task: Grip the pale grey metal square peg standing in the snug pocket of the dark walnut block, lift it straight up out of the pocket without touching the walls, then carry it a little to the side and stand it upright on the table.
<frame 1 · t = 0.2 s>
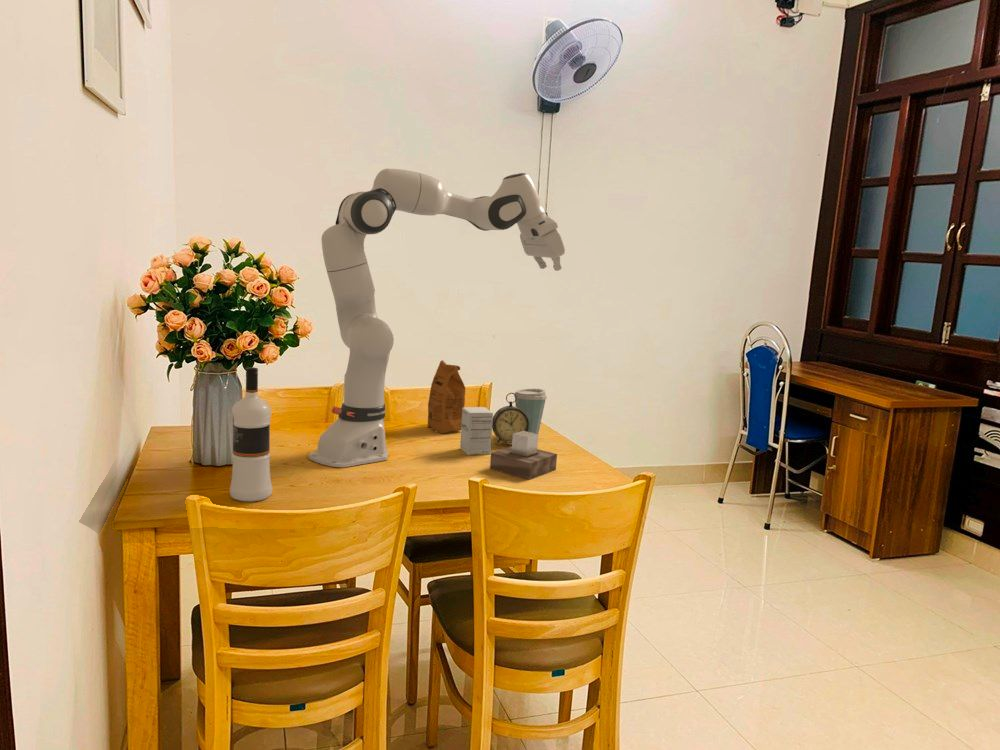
hand: (550, 268, 228), 54 cm above the table, tool tilted 30°, fingers open, 8 cm apart
grey peg: (524, 451, 207), in the pocket block
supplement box: (475, 452, 223), on the table
pocket block: (523, 469, 208), on the table
alarm clock: (508, 445, 233), on the table
vodka: (251, 497, 174), on the table
coffee package: (444, 429, 247), on the table
disposable coffee cup: (527, 435, 246), on the table
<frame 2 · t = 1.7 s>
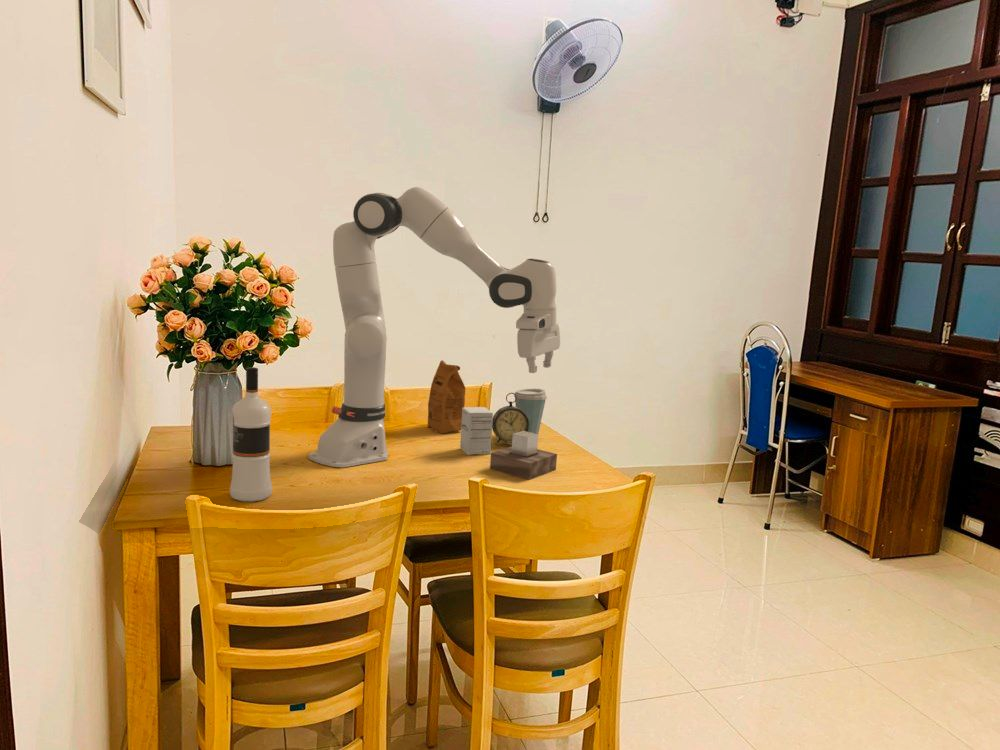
hand: (540, 369, 207), 27 cm above the table, tool pointing down, fingers open, 8 cm apart
nothing on the table moved.
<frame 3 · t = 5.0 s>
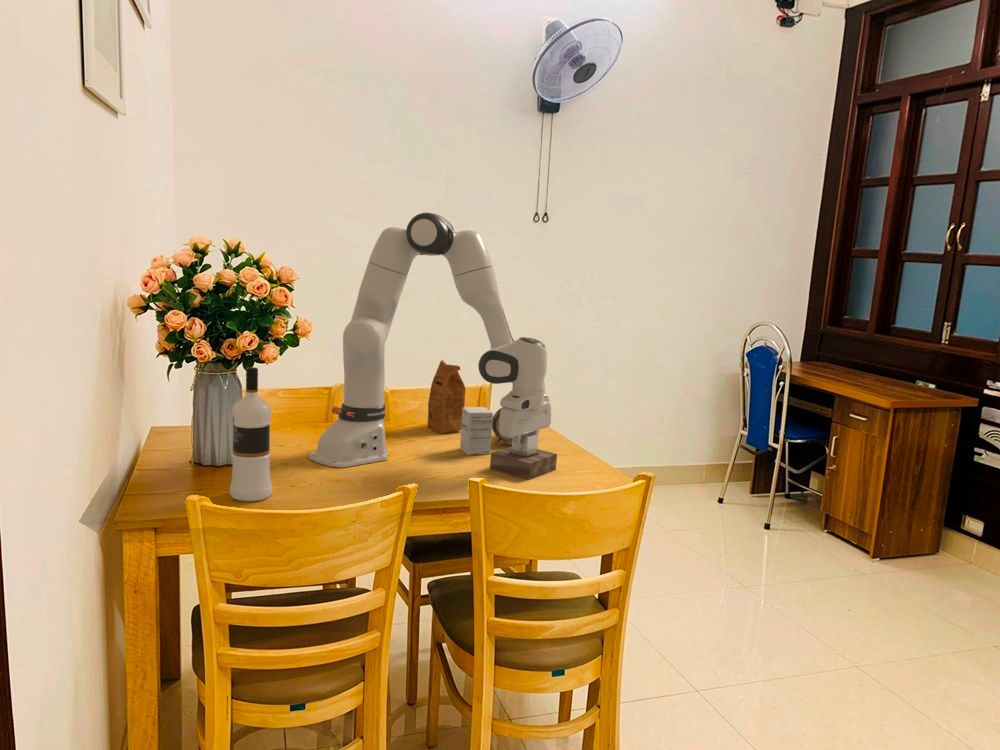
hand: (524, 447, 207), 6 cm above the table, tool pointing down, fingers closed on grey peg, 5 cm apart
grey peg: (524, 451, 207), in the pocket block, touching gripper
everything else where it was.
when the fingers open (8 cm above the table, at t = 13.7 s): grey peg drops 1 cm, on the table.
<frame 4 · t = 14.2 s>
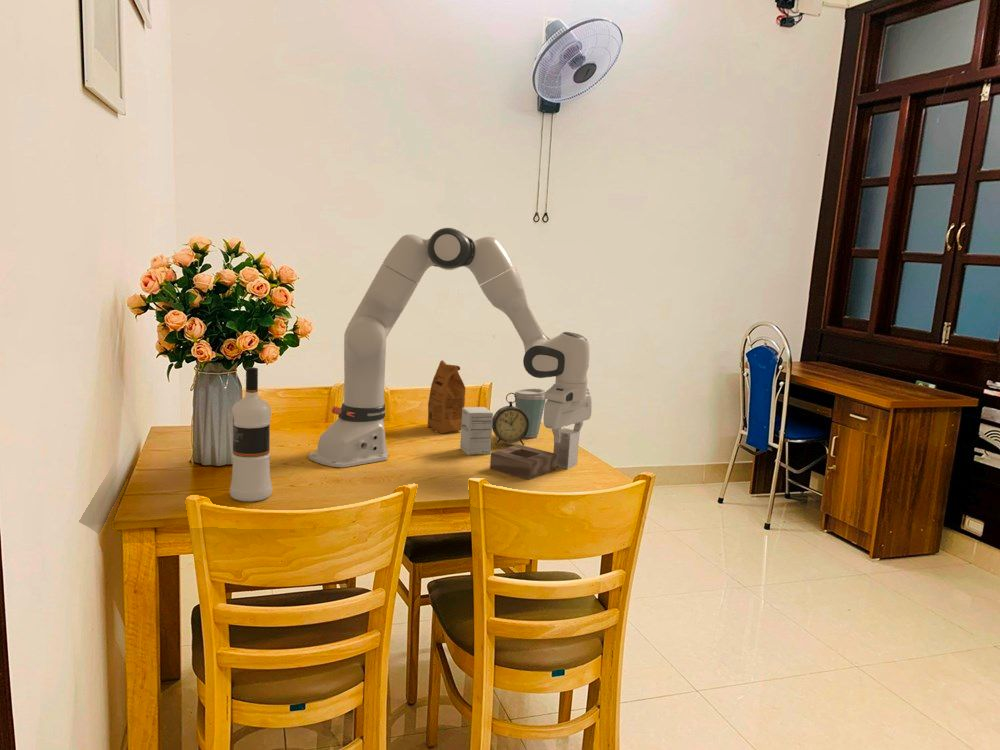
hand: (566, 439, 213), 8 cm above the table, tool pointing down, fingers open, 8 cm apart
grey peg: (565, 448, 213), on the table
everything else where it was.
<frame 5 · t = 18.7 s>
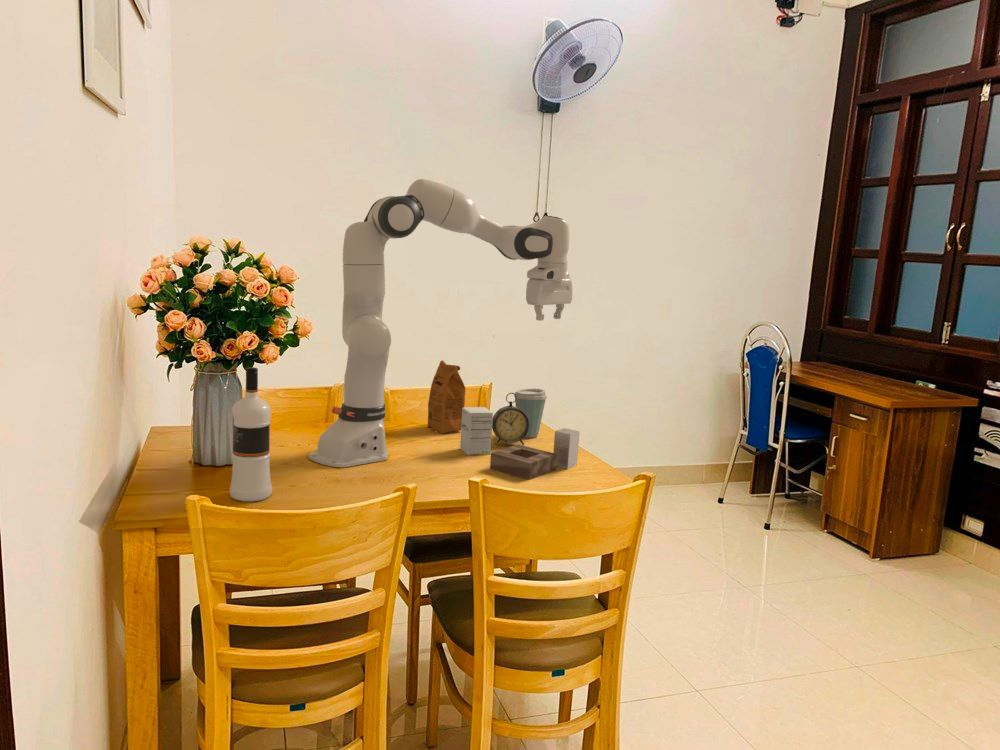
hand: (548, 319, 226), 39 cm above the table, tool pointing down, fingers open, 8 cm apart
nothing on the table moved.
at the end: grey peg inside the target area (0.1 cm from its centre), on the table; grey peg tilted 0°; grey peg touching table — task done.
